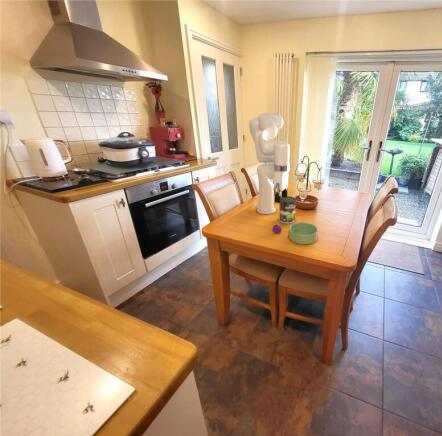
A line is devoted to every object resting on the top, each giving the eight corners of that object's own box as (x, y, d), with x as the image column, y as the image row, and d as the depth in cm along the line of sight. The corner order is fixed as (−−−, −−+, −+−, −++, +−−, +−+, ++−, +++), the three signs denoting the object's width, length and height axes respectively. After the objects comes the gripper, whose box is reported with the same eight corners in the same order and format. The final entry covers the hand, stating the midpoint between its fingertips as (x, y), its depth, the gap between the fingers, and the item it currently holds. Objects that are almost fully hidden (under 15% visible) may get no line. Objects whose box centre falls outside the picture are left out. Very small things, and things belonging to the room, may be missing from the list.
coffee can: (298, 221, 145) (299, 200, 139) (283, 224, 140) (283, 203, 134) (290, 215, 153) (291, 195, 147) (276, 218, 149) (276, 197, 143)
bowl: (284, 241, 123) (284, 232, 121) (294, 228, 136) (294, 220, 134) (312, 247, 119) (313, 238, 116) (320, 234, 132) (320, 225, 129)
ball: (271, 234, 130) (271, 226, 127) (274, 230, 134) (274, 222, 132) (279, 235, 128) (279, 227, 126) (282, 231, 132) (282, 224, 130)
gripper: (281, 164, 127) (280, 194, 134) (267, 170, 112) (267, 204, 119) (294, 165, 125) (293, 196, 132) (282, 172, 110) (281, 206, 117)
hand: (281, 199), depth 125 cm, fingers open, 9 cm apart
